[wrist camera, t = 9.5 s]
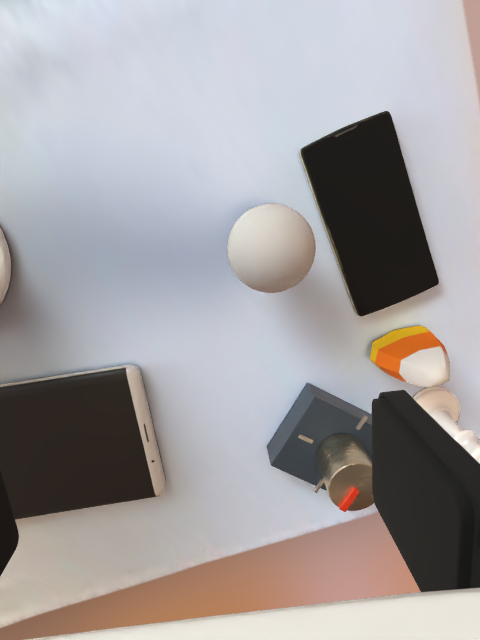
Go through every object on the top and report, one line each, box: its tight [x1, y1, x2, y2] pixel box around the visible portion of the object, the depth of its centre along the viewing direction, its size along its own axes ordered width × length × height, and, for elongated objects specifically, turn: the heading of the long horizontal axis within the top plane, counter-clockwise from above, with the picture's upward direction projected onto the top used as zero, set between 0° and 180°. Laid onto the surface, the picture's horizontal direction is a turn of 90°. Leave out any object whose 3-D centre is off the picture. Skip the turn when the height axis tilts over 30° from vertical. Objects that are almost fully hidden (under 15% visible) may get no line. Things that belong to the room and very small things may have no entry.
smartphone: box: [300, 111, 439, 316], centre depth 34 cm, size 7×1×15 cm
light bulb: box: [227, 204, 316, 293], centre depth 30 cm, size 6×6×10 cm
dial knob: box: [316, 433, 374, 512], centre depth 35 cm, size 4×4×5 cm
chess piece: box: [413, 387, 480, 464], centre depth 35 cm, size 5×5×10 cm
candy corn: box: [370, 326, 450, 387], centre depth 34 cm, size 6×3×8 cm, turn 110°
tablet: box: [0, 365, 166, 519], centre depth 38 cm, size 13×27×2 cm, turn 98°
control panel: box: [267, 383, 372, 493], centre depth 39 cm, size 10×9×3 cm
